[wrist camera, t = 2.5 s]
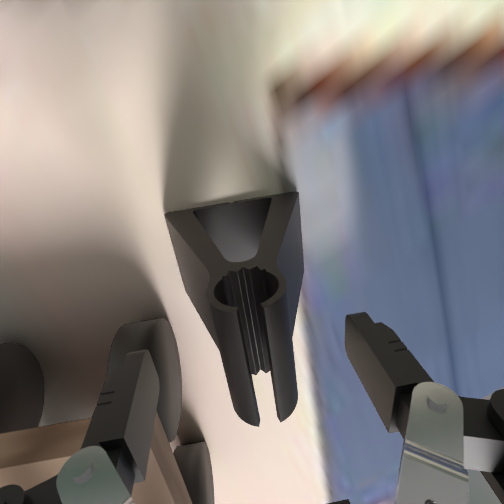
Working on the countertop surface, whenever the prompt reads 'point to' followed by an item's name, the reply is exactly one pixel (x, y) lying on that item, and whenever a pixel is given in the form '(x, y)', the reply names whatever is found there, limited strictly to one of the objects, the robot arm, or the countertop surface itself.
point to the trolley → (73, 433)
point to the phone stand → (246, 289)
